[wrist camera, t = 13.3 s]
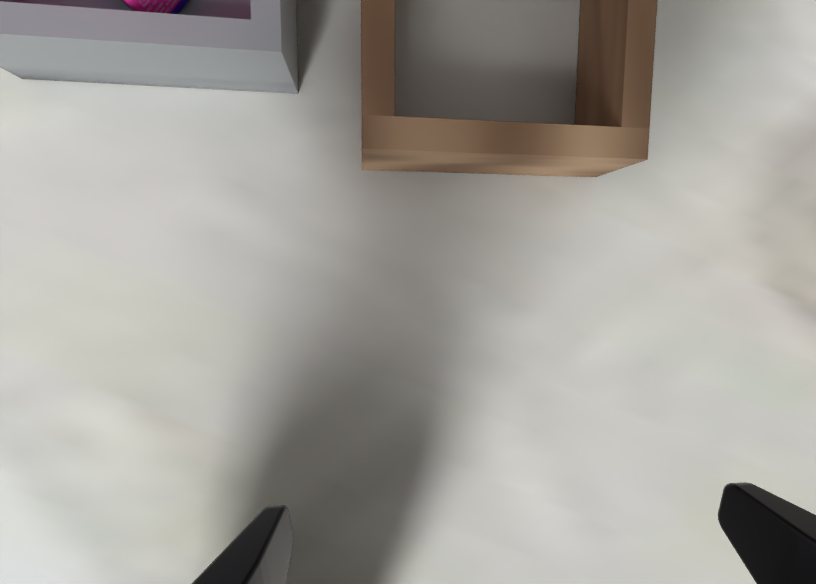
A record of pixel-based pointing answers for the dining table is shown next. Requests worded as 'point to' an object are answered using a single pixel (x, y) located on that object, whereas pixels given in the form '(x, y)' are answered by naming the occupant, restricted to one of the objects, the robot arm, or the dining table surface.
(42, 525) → the dining table surface
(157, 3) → the supplement box
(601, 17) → the holder
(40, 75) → the tray
